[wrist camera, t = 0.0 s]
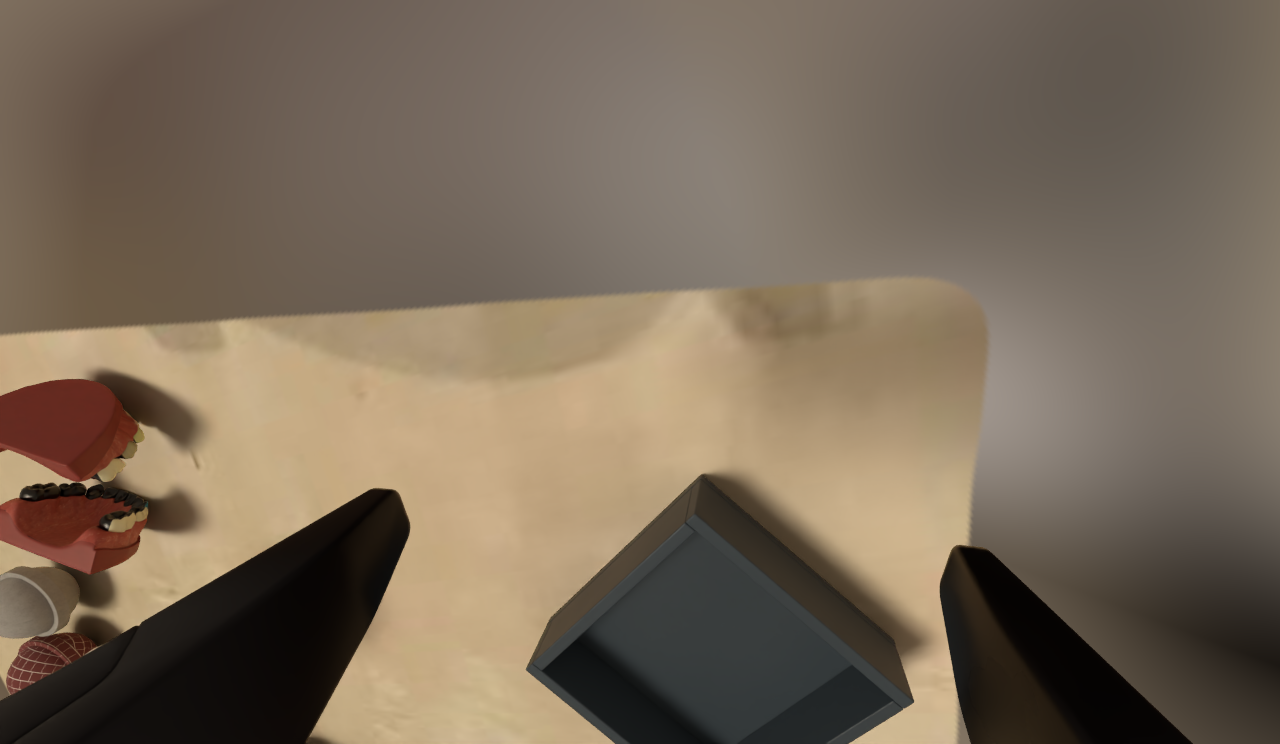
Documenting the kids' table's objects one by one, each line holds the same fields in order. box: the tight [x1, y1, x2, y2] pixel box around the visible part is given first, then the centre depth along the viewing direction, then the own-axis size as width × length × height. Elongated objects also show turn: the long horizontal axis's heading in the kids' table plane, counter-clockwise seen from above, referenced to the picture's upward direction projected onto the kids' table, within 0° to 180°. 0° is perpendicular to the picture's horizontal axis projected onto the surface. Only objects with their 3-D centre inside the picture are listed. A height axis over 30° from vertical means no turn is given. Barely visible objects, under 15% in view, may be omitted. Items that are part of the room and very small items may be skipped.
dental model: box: [0, 379, 148, 575], centre depth 30 cm, size 7×5×10 cm
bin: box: [526, 475, 914, 744], centre depth 26 cm, size 12×12×4 cm
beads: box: [0, 566, 97, 695], centre depth 37 cm, size 25×5×4 cm, turn 177°
